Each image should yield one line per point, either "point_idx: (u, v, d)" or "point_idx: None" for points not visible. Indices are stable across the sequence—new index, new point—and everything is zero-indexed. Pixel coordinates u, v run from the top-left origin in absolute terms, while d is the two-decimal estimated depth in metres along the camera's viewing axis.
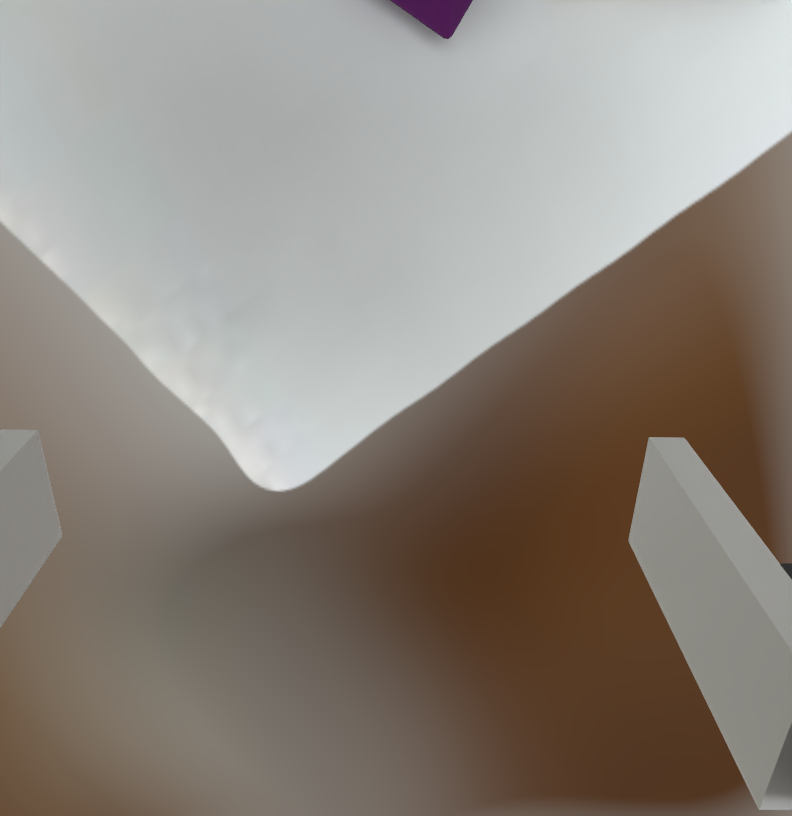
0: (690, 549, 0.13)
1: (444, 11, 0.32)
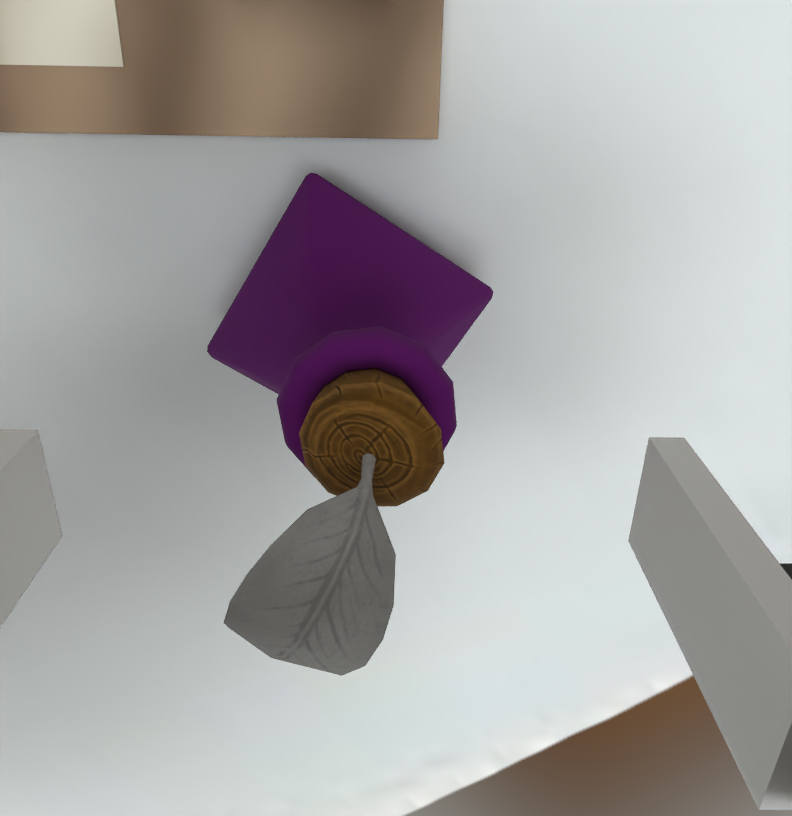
0: (690, 549, 0.13)
1: (465, 311, 0.24)
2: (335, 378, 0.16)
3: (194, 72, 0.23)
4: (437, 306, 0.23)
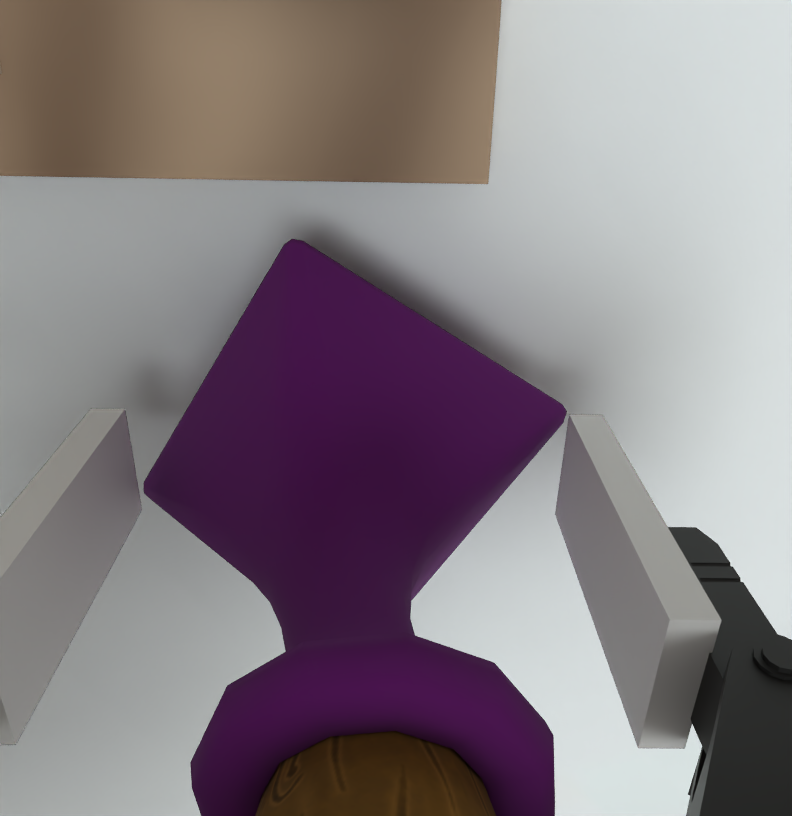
0: (596, 516, 0.14)
1: (527, 447, 0.16)
2: (308, 747, 0.07)
3: (111, 82, 0.15)
4: (487, 446, 0.15)
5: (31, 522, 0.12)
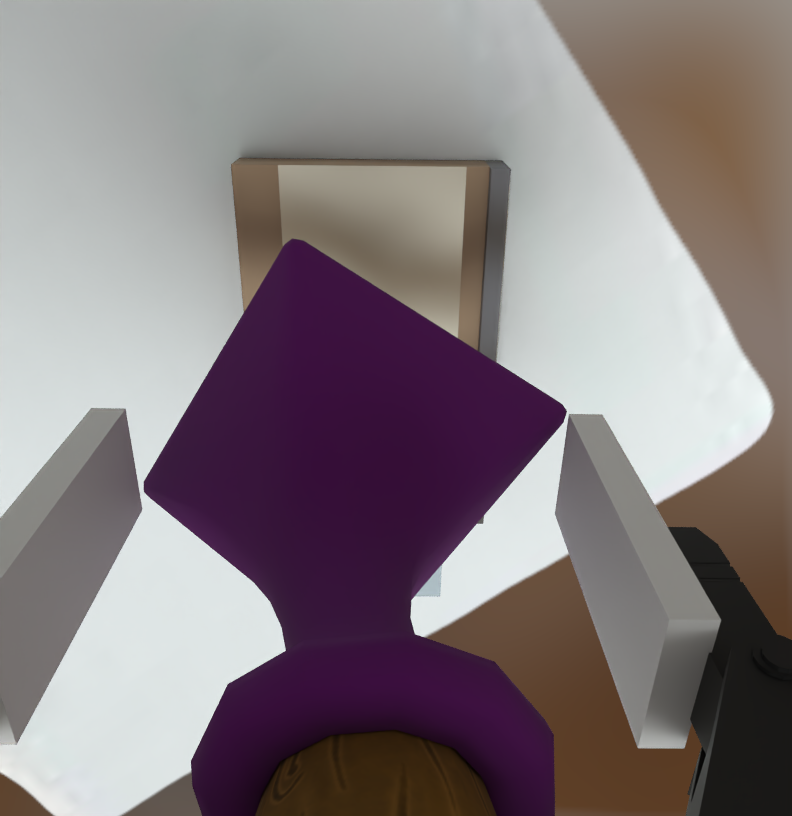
0: (595, 516, 0.14)
1: (527, 447, 0.16)
2: (308, 746, 0.07)
3: None
4: (487, 446, 0.15)
5: (31, 522, 0.12)
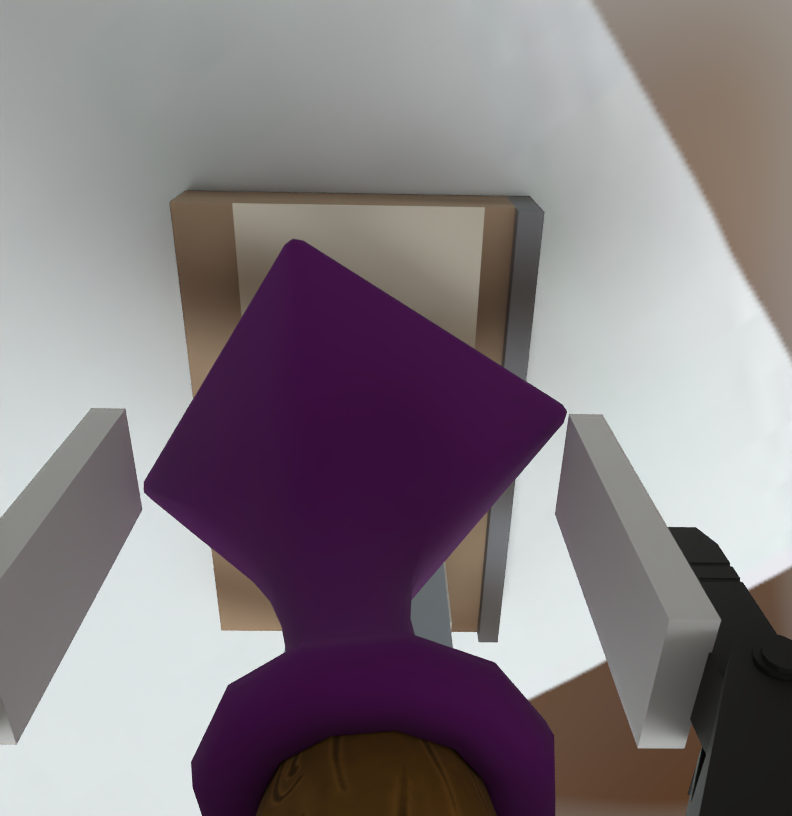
0: (595, 516, 0.14)
1: (528, 447, 0.16)
2: (308, 747, 0.07)
3: None
4: (487, 446, 0.15)
5: (31, 522, 0.12)
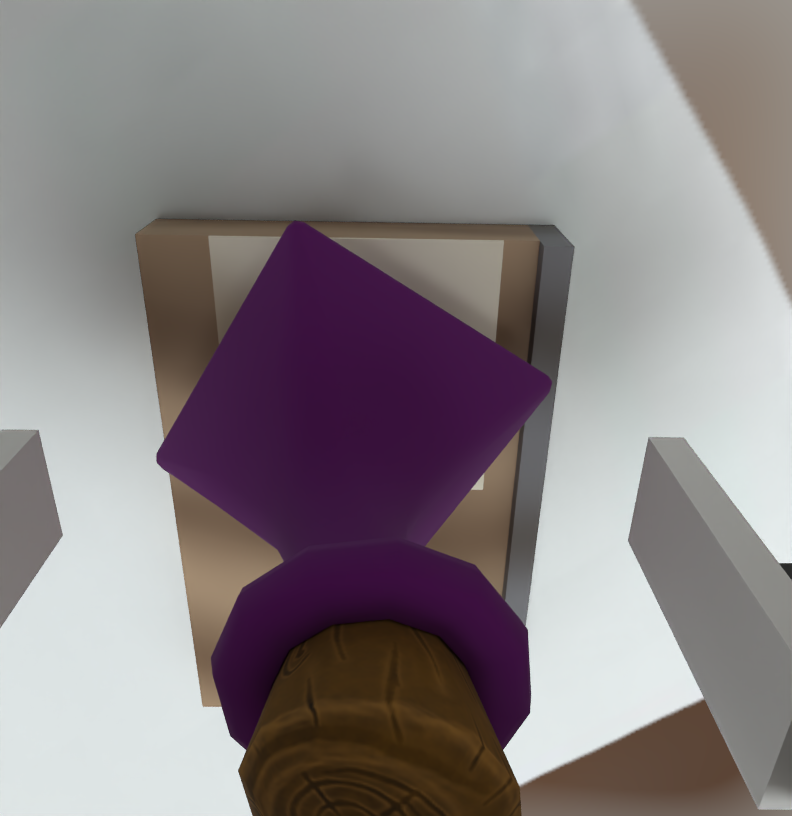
0: (689, 549, 0.13)
1: (515, 413, 0.17)
2: (313, 635, 0.08)
3: (235, 540, 0.24)
4: (477, 411, 0.16)
5: None
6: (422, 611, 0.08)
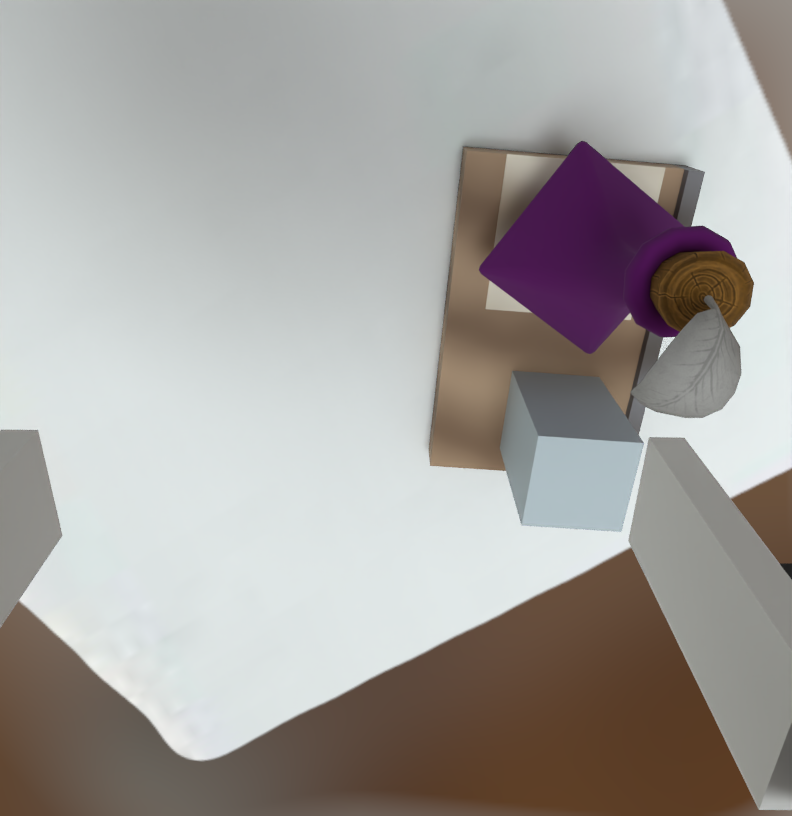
0: (690, 550, 0.13)
1: None
2: (672, 256, 0.25)
3: (477, 346, 0.40)
4: None
5: None
6: (711, 247, 0.25)
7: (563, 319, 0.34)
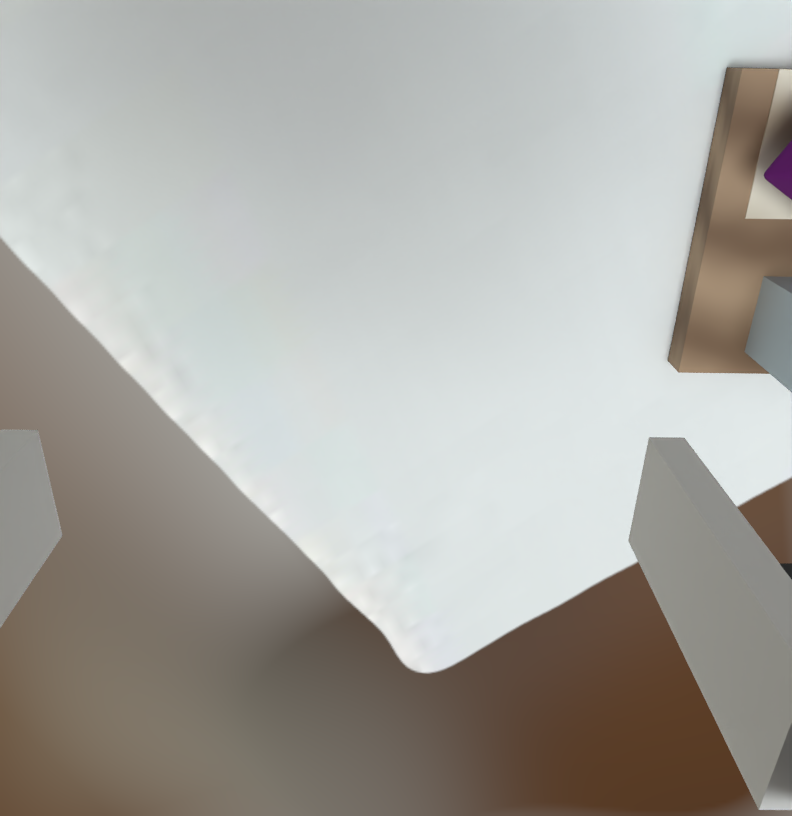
0: (690, 549, 0.13)
1: None
2: None
3: (734, 254, 0.44)
4: None
5: None
6: None
7: None
